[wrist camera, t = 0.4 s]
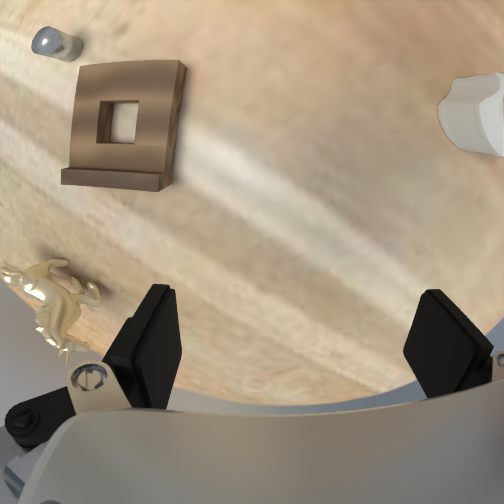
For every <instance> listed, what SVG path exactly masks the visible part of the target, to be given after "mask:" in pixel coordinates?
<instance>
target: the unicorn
mask: <svg viewBox="0 0 504 504" xmlns="http://www.w3.org/2000/svg"><path fill="white" fill-rule="evenodd" d="M67 265H69V261H68V260H60V259H50V260H47V261H45V262H43V263H41V264H37V265H34V266H31V267H29V268H27V269H26V270H24V271H22V270H21V269H20V268H18V267H15V266H12V265H9V263H8V262H7V261H5V260H4V262H3V267H1V268H0V271H1V274H0V276H1V277H2V279H3V280H4V281H5V282H6V283H7V284H9V285H13V286H18V287H20V288H21V290H22V292H23V293H24V294H25V295H26V296H28V297H31V298H35V299H37V300H39V301H41V302H43V303H44V304H45V305H44V306H37V309H38V311H39V313H37V312H35V313H36V316H37V318H35V319H34V320H35V321H36V322H37V323H38V324H39V325H40V327H39V328H37V329H36V330H38V331H39V332H40V333H42V334H43V336H44V337H45V338H46V340H47V342H48V343H49V344H51V345H52V346H53V347H55V348H60V351H59V354H58V356H60V355H62V354H63V353H64V352H65V351H67V354H66V355H67V360H66V361H67V362H66V366H67V364H68V359H69V356H70V352H74V351H89V350H90V345H89V344H88V343H87V342H82V341H80V340H78V339H76V338H75V337H73V336H71V335H67V331H68V329H69V328H70V327H71V326H72V325H73V324H74V323H75V322H76V321H77V320H78V318H79V317H80V315H81V309H80V304H81V303H84V304H87V305H90V306H93V307H100V306H101V305H102V299H101V296H100V293H99V290H98V288H97V286H96V285H95V284H93V283H90V282H88V283H87V288H88V290H90V291H91V292H92V293H93V294H94V296H95V297H96V299H94V298H91V297H89V296H86V295H84V290H83V288H82V286H81V284H80V281H79V280H78V279H76V278H75V277H73V276H72V278H71V282H72V284H73V285H74V286H75V287H76V288H77V290H78V292H79V293H78V294H71V293H70V292H69V291H68V290H67V289H66V288H64V287H63V286H62V285H60V284H58V283H56V282H67V281H69V279H68V278H65V277H61V276H58V275H55V274H53V273H51V272H50V268H52V267H61V266H67ZM54 281H56V282H54Z"/></svg>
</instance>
